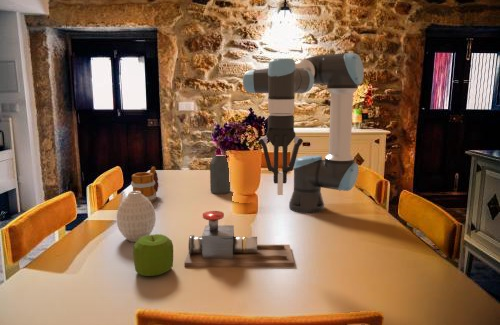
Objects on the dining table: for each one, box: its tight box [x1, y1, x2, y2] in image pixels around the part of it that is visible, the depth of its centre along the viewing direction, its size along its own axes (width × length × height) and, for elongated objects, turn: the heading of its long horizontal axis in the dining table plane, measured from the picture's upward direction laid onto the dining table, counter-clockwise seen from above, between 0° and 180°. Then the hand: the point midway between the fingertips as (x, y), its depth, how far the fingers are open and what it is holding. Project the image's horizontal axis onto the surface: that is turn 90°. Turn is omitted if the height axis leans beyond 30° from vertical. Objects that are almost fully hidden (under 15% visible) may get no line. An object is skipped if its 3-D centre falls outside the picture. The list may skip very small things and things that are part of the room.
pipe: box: [233, 236, 258, 253], centre depth 113 cm, size 10×5×5 cm, turn 90°
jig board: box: [184, 244, 295, 268], centre depth 113 cm, size 32×13×2 cm, turn 90°
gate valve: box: [188, 210, 235, 260], centre depth 112 cm, size 13×9×13 cm, turn 90°
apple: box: [132, 233, 174, 277], centre depth 103 cm, size 11×11×11 cm
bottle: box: [209, 152, 231, 195], centre depth 185 cm, size 10×10×30 cm
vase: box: [116, 190, 157, 243], centre depth 126 cm, size 13×13×17 cm
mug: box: [130, 166, 159, 203], centre depth 173 cm, size 11×16×15 cm, turn 158°
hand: (279, 193), depth 110 cm, fingers closed
